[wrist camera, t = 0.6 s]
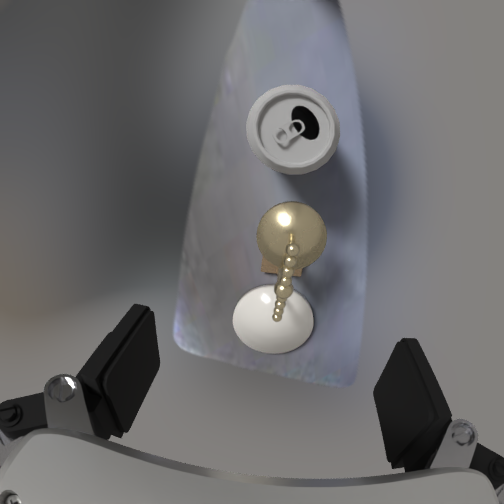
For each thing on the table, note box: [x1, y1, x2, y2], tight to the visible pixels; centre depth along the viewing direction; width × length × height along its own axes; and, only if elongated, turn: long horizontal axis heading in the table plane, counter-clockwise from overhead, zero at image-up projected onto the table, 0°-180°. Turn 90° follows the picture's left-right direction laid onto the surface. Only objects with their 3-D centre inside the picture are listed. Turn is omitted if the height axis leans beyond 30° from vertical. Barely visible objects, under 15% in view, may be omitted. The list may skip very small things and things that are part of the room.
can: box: [246, 85, 340, 175], centre depth 25 cm, size 8×8×12 cm
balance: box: [257, 201, 327, 322], centre depth 29 cm, size 14×6×14 cm, turn 174°
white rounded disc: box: [233, 284, 313, 354], centre depth 39 cm, size 11×11×1 cm
